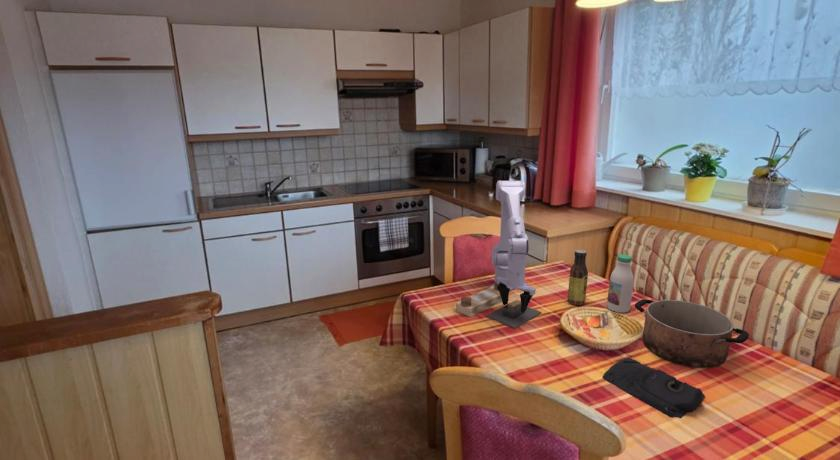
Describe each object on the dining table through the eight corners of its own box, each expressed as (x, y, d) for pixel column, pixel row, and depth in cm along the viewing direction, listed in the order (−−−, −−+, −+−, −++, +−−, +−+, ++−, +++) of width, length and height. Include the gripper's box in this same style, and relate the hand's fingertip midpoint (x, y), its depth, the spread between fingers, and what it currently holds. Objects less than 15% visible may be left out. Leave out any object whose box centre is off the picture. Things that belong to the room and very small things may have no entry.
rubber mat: (513, 302, 168) (513, 301, 167) (541, 313, 159) (541, 312, 159) (485, 316, 157) (485, 315, 157) (514, 328, 149) (514, 327, 148)
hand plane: (493, 292, 176) (494, 278, 174) (508, 298, 171) (509, 283, 170) (455, 310, 161) (455, 295, 160) (470, 317, 157) (470, 301, 155)
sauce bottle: (586, 306, 164) (591, 255, 158) (568, 305, 165) (573, 254, 160) (583, 299, 170) (589, 249, 164) (566, 297, 171) (571, 248, 166)
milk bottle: (625, 304, 166) (632, 252, 160) (633, 313, 158) (640, 260, 153) (603, 303, 167) (609, 252, 161) (610, 313, 159) (616, 259, 154)
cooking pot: (616, 340, 142) (620, 309, 138) (649, 319, 155) (654, 290, 152) (725, 385, 119) (733, 349, 116) (753, 355, 133) (760, 322, 130)
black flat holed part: (629, 360, 131) (631, 346, 130) (710, 400, 114) (714, 384, 113) (596, 378, 123) (598, 363, 122) (679, 424, 106) (682, 407, 104)
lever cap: (514, 308, 162) (514, 298, 161) (525, 312, 159) (525, 302, 158) (502, 315, 157) (503, 304, 156) (513, 319, 154) (514, 308, 153)
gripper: (492, 268, 156) (490, 304, 160) (528, 280, 146) (525, 318, 150) (504, 263, 161) (502, 298, 164) (540, 274, 150) (537, 311, 154)
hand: (514, 307), depth 157 cm, fingers open, 7 cm apart
